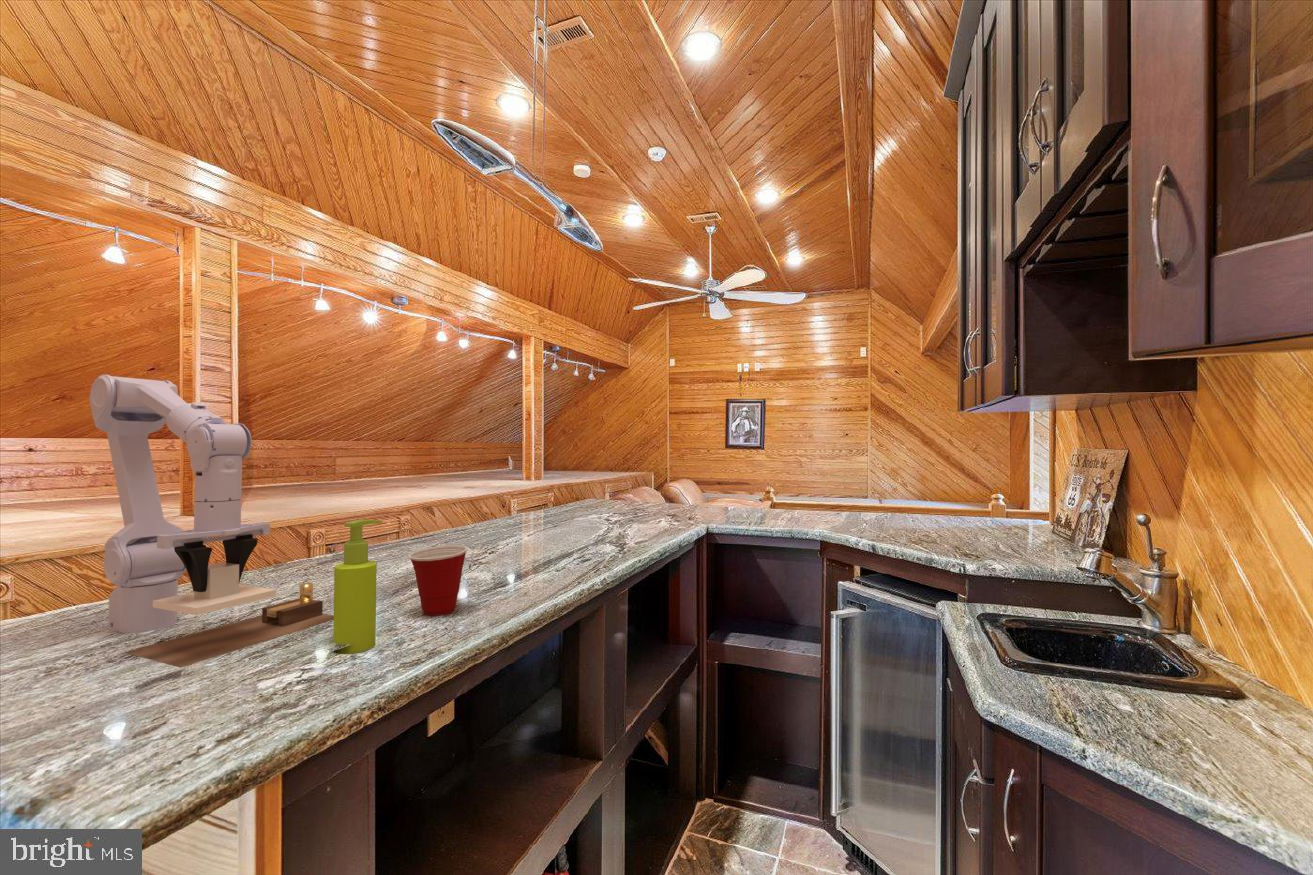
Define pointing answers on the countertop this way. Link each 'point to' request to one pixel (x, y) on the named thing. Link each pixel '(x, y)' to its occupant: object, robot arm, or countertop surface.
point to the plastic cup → (438, 577)
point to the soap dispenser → (355, 594)
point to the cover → (216, 593)
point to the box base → (235, 635)
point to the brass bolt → (305, 597)
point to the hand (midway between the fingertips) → (216, 587)
